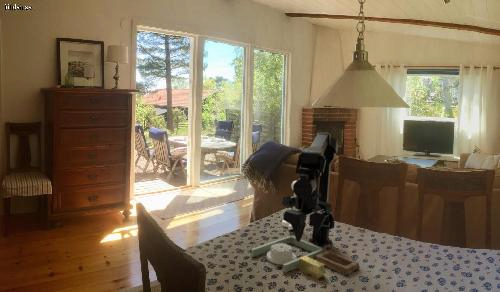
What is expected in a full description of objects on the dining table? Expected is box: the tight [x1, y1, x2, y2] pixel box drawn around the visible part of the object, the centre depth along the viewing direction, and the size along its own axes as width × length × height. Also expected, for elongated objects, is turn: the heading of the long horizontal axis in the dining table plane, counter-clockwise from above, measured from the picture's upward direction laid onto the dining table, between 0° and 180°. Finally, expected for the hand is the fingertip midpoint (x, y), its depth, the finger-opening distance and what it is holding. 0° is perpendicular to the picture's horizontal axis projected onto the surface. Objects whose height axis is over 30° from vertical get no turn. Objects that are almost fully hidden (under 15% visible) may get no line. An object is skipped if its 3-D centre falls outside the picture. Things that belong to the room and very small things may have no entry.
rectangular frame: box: [315, 249, 360, 276], centre depth 134 cm, size 7×12×2 cm, turn 42°
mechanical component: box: [266, 243, 297, 266], centre depth 137 cm, size 10×4×10 cm
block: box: [298, 255, 326, 279], centre depth 128 cm, size 8×3×4 cm, turn 43°
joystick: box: [281, 180, 299, 231], centre depth 167 cm, size 11×8×20 cm
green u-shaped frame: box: [250, 235, 326, 274], centre depth 139 cm, size 20×16×2 cm
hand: (306, 237), depth 127 cm, fingers open, 9 cm apart
